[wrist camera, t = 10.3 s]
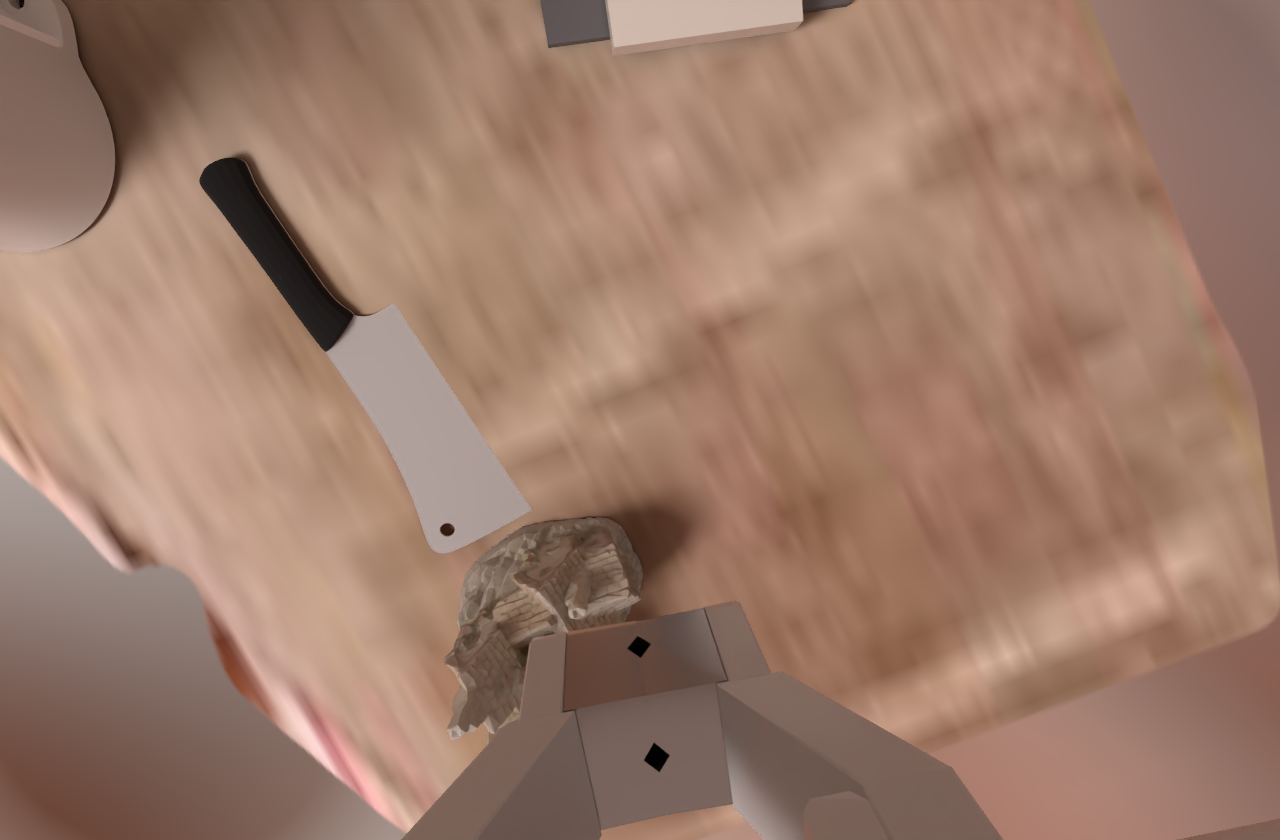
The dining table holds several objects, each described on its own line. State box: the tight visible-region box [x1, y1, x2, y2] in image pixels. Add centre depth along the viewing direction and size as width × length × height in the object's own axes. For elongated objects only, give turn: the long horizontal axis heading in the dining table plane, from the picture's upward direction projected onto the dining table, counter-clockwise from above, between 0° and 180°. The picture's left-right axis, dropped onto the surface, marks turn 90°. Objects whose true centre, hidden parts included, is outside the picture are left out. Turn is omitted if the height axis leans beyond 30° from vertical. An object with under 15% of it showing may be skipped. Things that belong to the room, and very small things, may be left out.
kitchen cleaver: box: [200, 158, 531, 553], centre depth 43 cm, size 31×2×10 cm
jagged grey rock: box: [444, 517, 643, 745], centre depth 44 cm, size 16×16×15 cm
